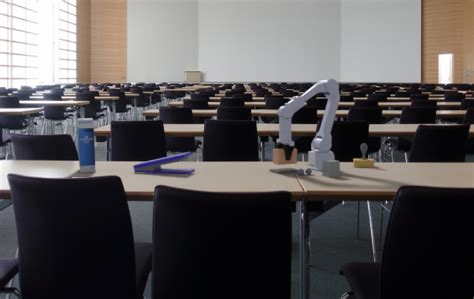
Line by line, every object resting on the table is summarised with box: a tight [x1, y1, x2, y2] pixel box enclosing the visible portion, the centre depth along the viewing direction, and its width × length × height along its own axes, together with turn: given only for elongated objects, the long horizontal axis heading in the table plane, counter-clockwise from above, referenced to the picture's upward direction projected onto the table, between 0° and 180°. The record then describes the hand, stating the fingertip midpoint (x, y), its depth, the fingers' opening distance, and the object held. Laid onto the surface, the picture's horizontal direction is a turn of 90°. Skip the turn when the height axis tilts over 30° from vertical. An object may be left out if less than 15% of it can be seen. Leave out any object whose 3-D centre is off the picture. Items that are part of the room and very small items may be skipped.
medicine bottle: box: [307, 145, 314, 167], centre depth 275 cm, size 7×7×12 cm
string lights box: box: [76, 117, 97, 174], centre depth 262 cm, size 13×8×26 cm, turn 18°
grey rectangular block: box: [321, 159, 341, 178], centre depth 241 cm, size 6×6×7 cm
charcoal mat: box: [269, 167, 299, 175], centre depth 255 cm, size 12×10×1 cm
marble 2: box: [304, 167, 313, 175], centre depth 246 cm, size 3×3×3 cm
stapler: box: [132, 151, 196, 175], centre depth 258 cm, size 12×28×10 cm, turn 77°
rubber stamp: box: [352, 143, 375, 168], centre depth 268 cm, size 10×6×12 cm, turn 79°
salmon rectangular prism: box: [272, 148, 298, 166], centre depth 254 cm, size 10×6×7 cm, turn 112°
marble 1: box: [297, 168, 305, 176], centre depth 245 cm, size 3×3×3 cm
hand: (285, 159), depth 254 cm, fingers closed on salmon rectangular prism, 6 cm apart
